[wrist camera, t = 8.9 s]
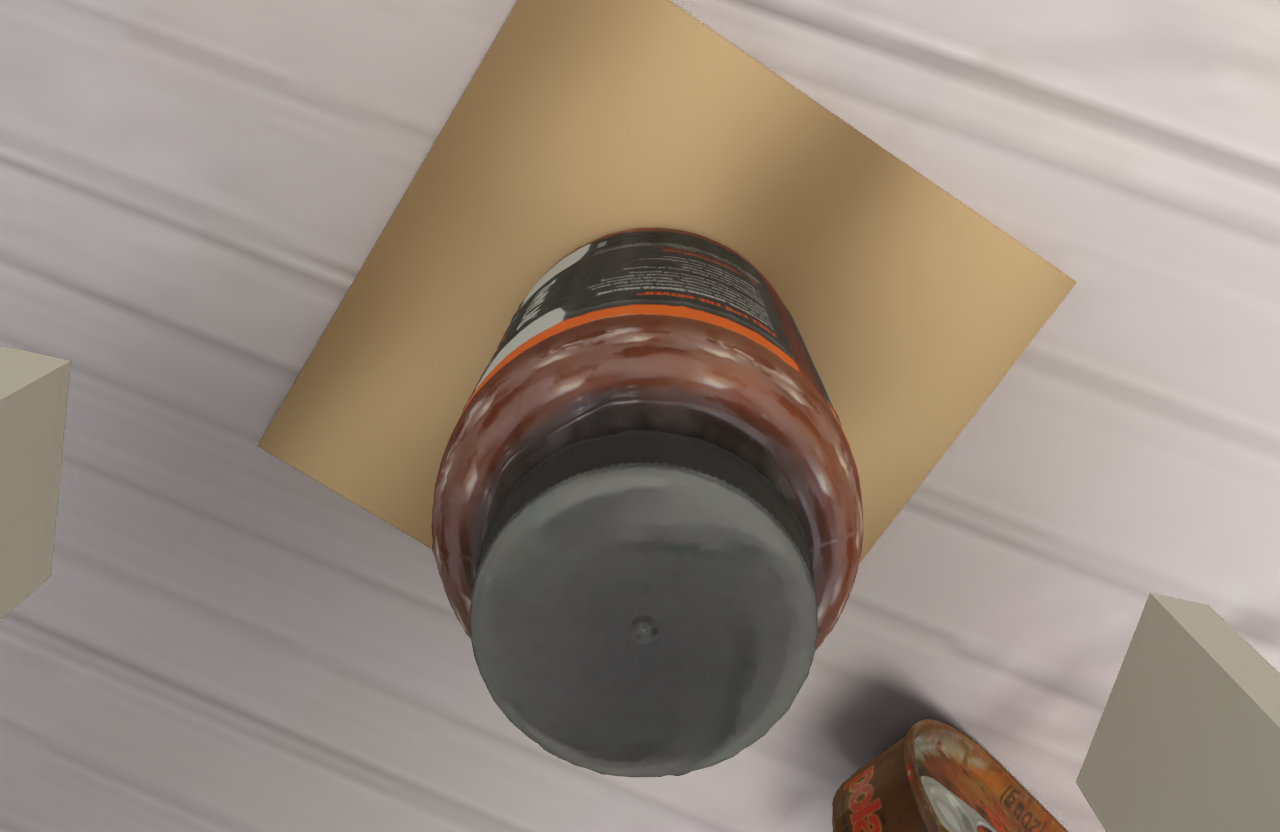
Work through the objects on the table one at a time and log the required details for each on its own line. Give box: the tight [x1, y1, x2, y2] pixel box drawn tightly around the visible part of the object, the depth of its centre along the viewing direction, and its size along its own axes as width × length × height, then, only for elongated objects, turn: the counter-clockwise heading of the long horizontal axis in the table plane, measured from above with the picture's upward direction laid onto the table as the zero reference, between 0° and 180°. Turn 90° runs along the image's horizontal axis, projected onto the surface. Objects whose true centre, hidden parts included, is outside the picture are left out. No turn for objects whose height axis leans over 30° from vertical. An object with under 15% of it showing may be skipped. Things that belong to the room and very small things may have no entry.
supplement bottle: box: [431, 227, 863, 777], centre depth 19 cm, size 6×6×11 cm
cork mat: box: [258, 0, 1076, 563], centre depth 24 cm, size 12×12×1 cm
